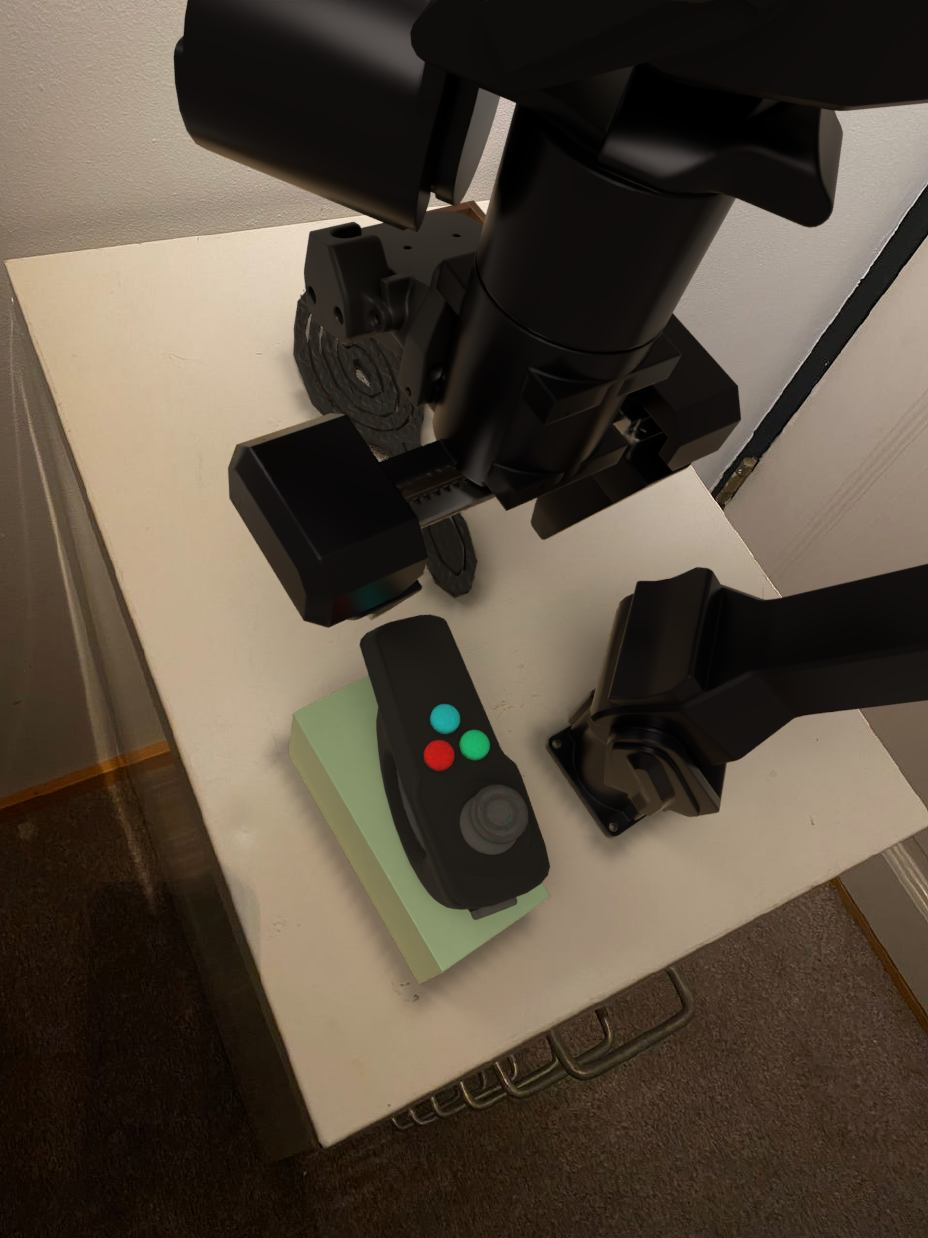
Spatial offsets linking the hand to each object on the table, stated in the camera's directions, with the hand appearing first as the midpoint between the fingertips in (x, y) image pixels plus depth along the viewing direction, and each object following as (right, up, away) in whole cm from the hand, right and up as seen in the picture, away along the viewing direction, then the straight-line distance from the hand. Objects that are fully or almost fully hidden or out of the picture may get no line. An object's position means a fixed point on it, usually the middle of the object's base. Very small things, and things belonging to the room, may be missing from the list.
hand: (457, 568), depth 36 cm
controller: (-2, -11, +2) cm, 11 cm away
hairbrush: (-5, +10, +19) cm, 22 cm away
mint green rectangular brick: (-3, -14, +7) cm, 16 cm away
